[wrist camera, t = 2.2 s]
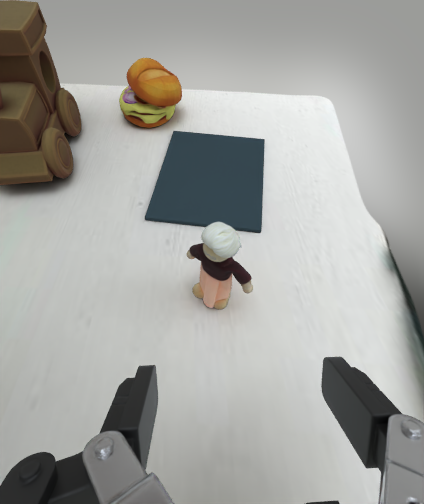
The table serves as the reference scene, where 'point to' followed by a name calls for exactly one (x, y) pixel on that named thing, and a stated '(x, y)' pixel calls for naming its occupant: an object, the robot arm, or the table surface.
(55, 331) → the table surface
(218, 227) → the grandmother figurine
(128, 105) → the cheeseburger
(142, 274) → the table surface
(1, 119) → the wooden toy train
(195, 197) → the mat
